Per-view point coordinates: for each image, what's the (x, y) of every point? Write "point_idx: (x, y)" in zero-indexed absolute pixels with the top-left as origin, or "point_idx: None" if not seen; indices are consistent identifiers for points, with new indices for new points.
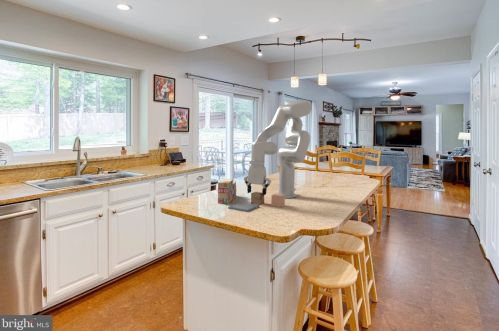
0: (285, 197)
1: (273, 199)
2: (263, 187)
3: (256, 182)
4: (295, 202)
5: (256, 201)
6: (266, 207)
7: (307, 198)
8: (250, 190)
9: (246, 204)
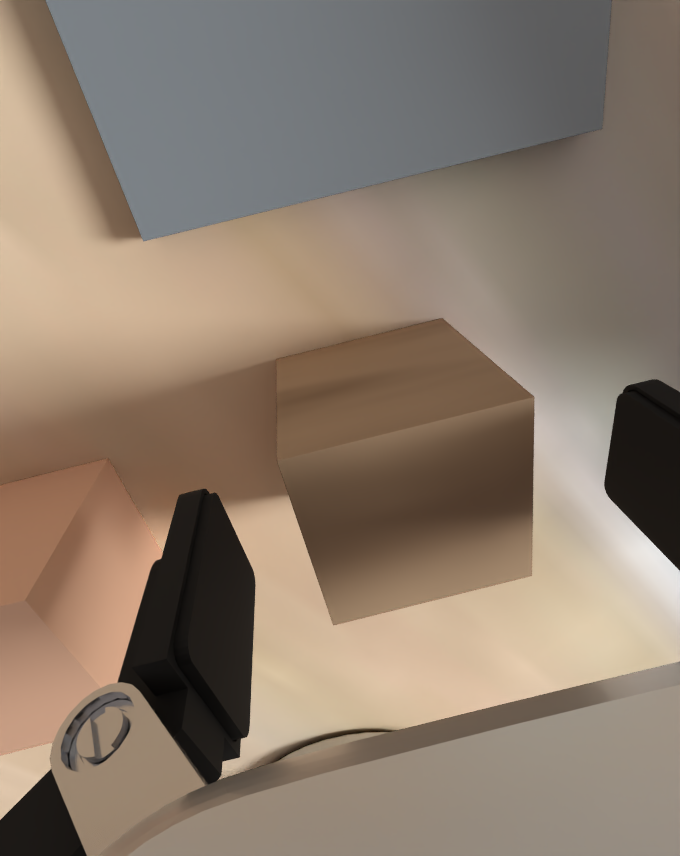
0: (296, 756)
1: (17, 543)
2: (141, 703)
3: (484, 854)
4: None
5: (340, 363)
6: (42, 318)
7: None
8: (642, 493)
9: (377, 53)
